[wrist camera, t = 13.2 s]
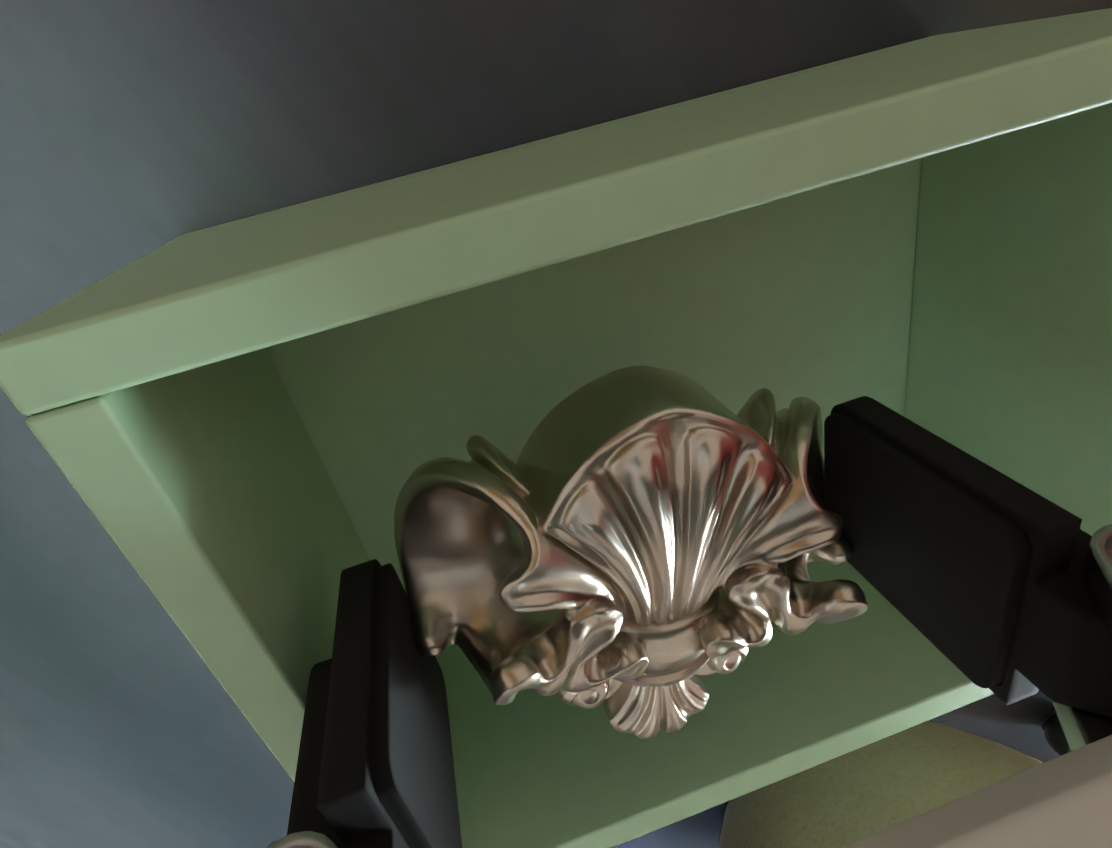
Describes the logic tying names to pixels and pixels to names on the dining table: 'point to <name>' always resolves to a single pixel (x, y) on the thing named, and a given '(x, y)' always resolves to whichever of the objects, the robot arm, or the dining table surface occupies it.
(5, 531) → the dining table surface
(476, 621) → the ornament
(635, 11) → the dining table surface
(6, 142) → the dining table surface
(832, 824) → the flower pot
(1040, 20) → the open storage box
